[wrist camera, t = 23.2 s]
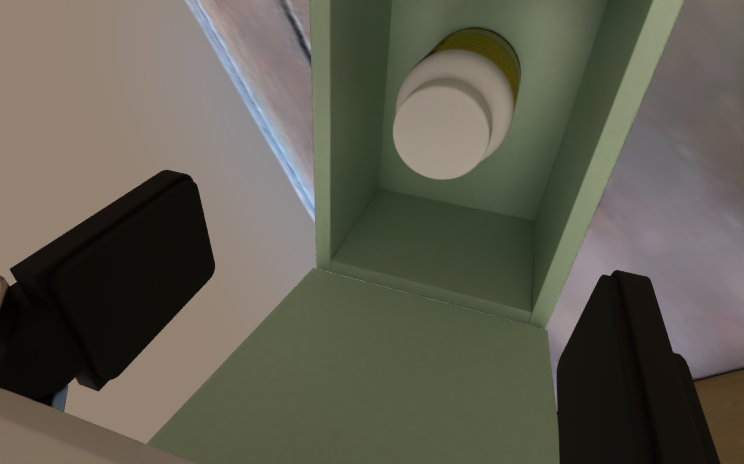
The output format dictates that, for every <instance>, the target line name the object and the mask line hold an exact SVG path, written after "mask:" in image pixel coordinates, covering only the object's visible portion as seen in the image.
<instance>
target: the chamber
mask: <svg viewBox="0 0 744 464" xmlns="http://www.w3.org/2000/svg"><path fill="white" fill-rule="evenodd" d="M684 1H685V0H310V32H311V71H312V111H313V150H314V189H315V228H316V265H317V266H316V267H317V269H321V270H324V271H328V272H332V273H335V274H339V275H343V276H347V277H350V278H354V279H358V280H362V281H365V282H369V283H373V284H377V285H380V286H384V287H388V288H392V289H395V290H399V291H403V292H407V293H410V294H414V295H418V296H422V297H426V298H429V299H433V300H437V301H441V302H444V303H448V304H452V305H456V306H459V307H463V308H467V309H471V310H474V311H478V312H482V313H486V314H489V315H493V316H497V317H501V318H504V319H508V320H512V321H516V322H519V323H523V324H528V325H531V326H535V327H538V328H542V329H546V326H547V324H548V322H549V319H550V317H551V315H552V312H553V310H554V308H555V305H556V303H557V300H558V298H559V296H560V293H561V291H562V289H563V286H564V284H565V282H566V279H567V277H568V275H569V272H570V270H571V267H572V265H573V263H574V260H575V258H576V256H577V253H578V251H579V249H580V246H581V244H582V242H583V239H584V237H585V235H586V232H587V230H588V227H589V225H590V223H591V220H592V218H593V216H594V213H595V211H596V209H597V206H598V204H599V202H600V199H601V197H602V194H603V192H604V190H605V187H606V185H607V183H608V180H609V178H610V176H611V173H612V171H613V169H614V166H615V164H616V161H617V159H618V157H619V154H620V152H621V150H622V147H623V145H624V143H625V140H626V138H627V136H628V133H629V131H630V128H631V126H632V124H633V121H634V119H635V117H636V114H637V112H638V110H639V107H640V105H641V103H642V100H643V98H644V95H645V93H646V91H647V88H648V86H649V84H650V81H651V79H652V77H653V74H654V72H655V70H656V67H657V65H658V62H659V60H660V58H661V55H662V53H663V51H664V48H665V46H666V44H667V41H668V39H669V37H670V34H671V32H672V29H673V27H674V25H675V22H676V20H677V18H678V15H679V13H680V11H681V8H682V6H683V4H684ZM468 27H483V28H488V29H491V30H494V31H496V32H498V33H500V34H501V35H503V36H504V37H505V38H506V39H507V40H508V41H509V42H510V43H511V44H512V46H513V47H514V49H515V50H516V52H517V55H518V57H519V61H520V66H521V81H520V87H519V92H518V97H517V102H516V106H515V111H514V116H513V120H512V123H511V126H510V129H509V132H508V134H507V136H506V138H505V139H504V141H503V142H502V144H501V145H500V146H499V148H498V149H497V150H496V151H495V152H494V153H493V154H491V155H490V156H489V157H488V158H486V159H484V160H483V161H481V162H480V163H479V164H478V165H477V166H476V167H475V168H473V169H472V170H471V171H470V172H468V173H466V174H464V175H462V176H460V177H457V178H453V179H445V180H439V179H432V178H428V177H425V176H423V175H421V174H419V173H417V172H415V171H414V170H412V169H411V168H410V167H409V166H408V165H407V164H406V163H405V162H404V161H403V160H402V158H401V157H400V155H399V154H398V152H397V149H396V147H395V143H394V139H393V123H394V119H395V116H396V101H397V96H398V93H399V90H400V87H401V85H402V83H403V81H404V80H405V78H406V76H407V75H408V74H409V72H410V71H411V70H412V69H413V68H414V67H415V65H416V64H417V63H418V62H420V61H421V60H422V59H423V58H424V57H425V56H426V55H427V54H428V53H429V52H430V51H431V50H432V49H433V48H434V47H435V46H436V45H437V44H438V43H439V42H440V41H442V40H443V39H444V38H445V37H447V36H448V35H450V34H451V33H453V32H455V31H457V30H460V29H463V28H468Z"/></svg>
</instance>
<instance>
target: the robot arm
mask: <svg viewBox="0 0 744 464" xmlns="http://www.w3.org/2000/svg"><path fill="white" fill-rule="evenodd" d="M214 270H215V262H214V257H213V253H212V249H211V244H210V239H209V235H208V231H207V226H206V222H205V217H204V213H203V208H202V204H201V200H200V195H199V191H198V187H197V184H196V183H195V182H193V179H192V178H191V177H190V176H189V175H187V174H184V173H179V172H175V171H170V170H164V171H161V172H160V173H158V174H156V175H155V176H153V177H152V178H150V179H149V180H147V181H145V182H144V183H142V184H141V185H139V186H138V187H136V188H135V189H133V190H132V191H130V192H128V193H127V194H125V195H124V196H122V197H121V198H119V199H117V200H116V201H115V202H113V203H112V204H110V205H108V206H107V207H105V208H104V209H102V210H101V211H99V212H97V213H96V214H94V215H93V216H91V217H90V218H88V219H86V220H85V221H83V222H82V223H80V224H79V225H77V226H76V227H74V228H73V229H71V230H69V231H68V232H66V233H65V234H63V235H62V236H60V237H59V238H57V239H55V240H54V241H52V242H51V243H49V244H48V245H46V246H45V247H43V248H41V249H40V250H38V251H37V252H36V253H34V254H32V255H31V256H29V257H28V258H26V259H24V260H23V261H22V262H20V263H18V264H17V265H15V266H14V267H12V268H10V271H11V272H12V274H13V276H14V277H15V279H16V281H17V282H16V283H14V284H13V285H12V286H9V285H8V283H7V281H6V280H5V279H4V278H3V277H2V276H0V464H195V463H193V462H190V461H187V460H185V459H182V458H180V457H177V456H175V455H172V454H170V453H167V452H165V451H162V450H160V449H157V448H154V447H152V446H149V445H147V444H144V443H142V442H139V441H137V440H134V439H132V438H129V437H126V436H124V435H121V434H119V433H116V432H114V431H111V430H108V429H106V428H103V427H101V426H98V425H96V424H93V423H91V422H88V421H85V420H82V419H80V418H78V417H75V416H73V415H70V414H67V413H65V412H64V409H65V403H66V397H67V391H68V383H70V382H71V381H72V380H73V379H74V378H76V379H77V381H78V383H79V384H80V385H83V386H86V387H88V388H91V389H94V390H96V391H99V390H100V389H101V388H102V387H103V386H104V385H105V384H106V383H107V382H108V381H109V380H111V379H114V378H116V377H118V376H119V375H120V374H121V373H122V372H123V371H124V370H125V369H126V368H127V367H128V365H129V364H130V363H131V362H132V361H133V360H134V359H135V358H136V357H137V356H138V355H139V354H140V353H141V352H142V351H143V349H144V348H145V347H146V346H147V345H148V344H149V343H150V342H151V341H152V340H153V339H154V338H155V336H157V335H158V333H159V332H160V331H161V330H162V329H163V328H164V327H165V326H166V325H167V324H168V323H169V322H170V321H171V320H172V319H173V318H174V316H175V315H176V314H177V313H178V312H179V311H180V310H181V309H182V308H183V307H184V306H185V305H186V304H187V303H188V301H189V300H190V299H191V298H192V297H193V296H194V295H195V294H196V293H197V292H198V291H199V290H200V289H201V288H202V287H203V286H204V285H205V284H206V283H207V281H208V280H209V279H210V278H211V277H212V275H213V273H214ZM557 401H558V430H559V460H560V464H721V463H720V460H719V457H718V454H717V451H716V448H715V445H714V442H713V439H712V436H711V433H710V430H709V427H708V424H707V421H706V418H705V415H704V412H703V409H702V406H701V403H700V400H699V397H698V394H697V391H696V388H695V385H694V382H693V379H692V376H691V373H690V370H689V367H688V365H687V363H686V361H685V359H684V358H683V357H682V356H681V355H680V354H676V353H673V351H672V347H671V344H670V341H669V338H668V334H667V331H666V328H665V325H664V321H663V318H662V315H661V312H660V309H659V305H658V302H657V299H656V296H655V292H654V289H653V286H652V283H651V280H650V278H648V277H646V276H642V275H637V274H633V273H628V272H624V271H619V270H616V271H614V272H613V273H612V274H611V276H608V275H602V276H601V277H600V279H599V280H598V282H597V284H596V286H595V288H594V290H593V292H592V294H591V296H590V298H589V300H588V303H587V305H586V307H585V309H584V311H583V313H582V315H581V317H580V319H579V321H578V323H577V325H576V327H575V329H574V331H573V333H572V335H571V337H570V339H569V341H568V343H567V345H566V347H565V349H564V351H563V353H562V355H561V357H560V360H559V363H558V367H557Z"/></svg>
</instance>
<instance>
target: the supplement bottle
mask: <svg viewBox="0 0 744 464" xmlns="http://www.w3.org/2000/svg"><path fill="white" fill-rule="evenodd" d="M520 81H521V66H520V61H519V57H518V55H517V52H516V50H515V49H514V47H513V46H512V44H511V43H510V42H509V41H508V40H507V39H506V38H505V37H504V36H503V35H501V34H500V33H498V32H496V31H494V30H491V29H488V28H483V27H468V28H463V29H460V30H457V31H455V32H453V33H451V34H450V35H448V36H447V37H445V38H444V39H443V40H442V41H440V42H439V43H438V44H437V45H436V46H435V47H434V48H433V49H432V50H431V51H430V52H429V53H428V54H427V55H426V56H425V57H424V58H423V59H422V60H421V61H420V62H418V63H417V64H416V65H415V67H414V68H413V69H412V70H411V71H410V72H409V74H408V75H407V76H406V78H405V80H404V81H403V83H402V85H401V87H400V90H399V93H398V96H397V101H396V116H395V119H394V123H393V139H394V143H395V147H396V149H397V152H398V154H399V155H400V157H401V158H402V160H403V161H404V162H405V163H406V164H407V165H408V166H409V167H410V168H411V169H412V170H414V171H415V172H417V173H419V174H421V175H423V176H425V177H428V178H432V179H439V180H445V179H453V178H457V177H460V176H462V175H464V174H466V173H468V172H470V171H471V170H472V169H473V168H475V167H476V166H477V165H478V164H479V163H480V162H481V161H483V160H484V159H486V158H488V157H489V156H490V155H491V154H493V153H494V152H495V151H496V150H497V149H498V148H499V146H500V145H501V144H502V142H503V141H504V139H505V138H506V136H507V134H508V132H509V129H510V126H511V123H512V120H513V116H514V111H515V106H516V102H517V97H518V92H519V87H520Z"/></svg>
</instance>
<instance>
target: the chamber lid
mask: <svg viewBox="0 0 744 464" xmlns="http://www.w3.org/2000/svg"><path fill="white" fill-rule="evenodd" d="M147 445H149V446H152V447H154V448H157V449H160V450H162V451H165V452H167V453H170V454H172V455H175V456H177V457H180V458H182V459H185V460H187V461H190V462H193V463H195V464H560V460H559V431H558V422H557V413H556V404H555V395H554V386H553V377H552V368H551V359H550V351H549V342H548V333H547V330H544V329H540V328H537V327H533V326H529V325H525V324H522V323H518V322H514V321H510V320H507V319H503V318H499V317H495V316H492V315H488V314H484V313H480V312H477V311H473V310H469V309H465V308H462V307H458V306H454V305H450V304H447V303H443V302H439V301H435V300H432V299H428V298H424V297H420V296H416V295H413V294H409V293H405V292H401V291H398V290H394V289H390V288H386V287H383V286H379V285H375V284H371V283H368V282H364V281H360V280H356V279H353V278H349V277H345V276H341V275H338V274H334V273H330V272H326V271H323V270H319V269H315V268H313V269H312V270H311V271H310V272H309V273H308V274H307V275H306V276H305V277H304V278H303V280H302V281H301V282H300V283H299V284H298V285H297V286H296V287H295V288H294V289H293V290H292V291H291V292H290V293H289V294H288V295H287V296H286V297H285V298H284V300H283V301H282V302H281V303H280V304H279V305H278V306H277V307H276V308H275V309H274V310H273V311H272V312H271V313H270V314H269V315H268V316H267V317H266V318H265V320H264V321H263V322H262V323H261V324H260V325H259V326H258V327H257V328H256V329H255V330H254V331H253V332H252V333H251V334H250V335H249V336H248V338H247V339H246V340H245V341H244V342H243V343H242V344H241V345H240V346H239V347H238V348H237V349H236V350H235V351H234V352H233V353H232V354H231V355H230V356H229V358H228V359H227V360H226V361H225V362H224V363H223V364H222V365H221V366H220V367H219V368H218V369H217V370H216V371H215V372H214V373H213V374H212V375H211V376H210V377H209V379H208V380H207V381H206V382H205V383H204V384H203V385H202V386H201V387H200V388H199V389H198V390H197V391H196V392H195V393H194V394H193V395H192V396H191V398H190V399H189V400H188V401H187V402H186V403H185V404H184V405H183V406H182V407H181V408H180V409H179V410H178V411H177V412H176V414H174V415H173V417H172V418H171V419H170V420H169V421H168V422H167V423H166V424H165V425H164V426H163V427H162V428H161V429H160V430H159V431H158V432H157V433H156V435H154V437H153V438H152V439H151V440H150V441H149V442H148V443H147Z"/></svg>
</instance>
